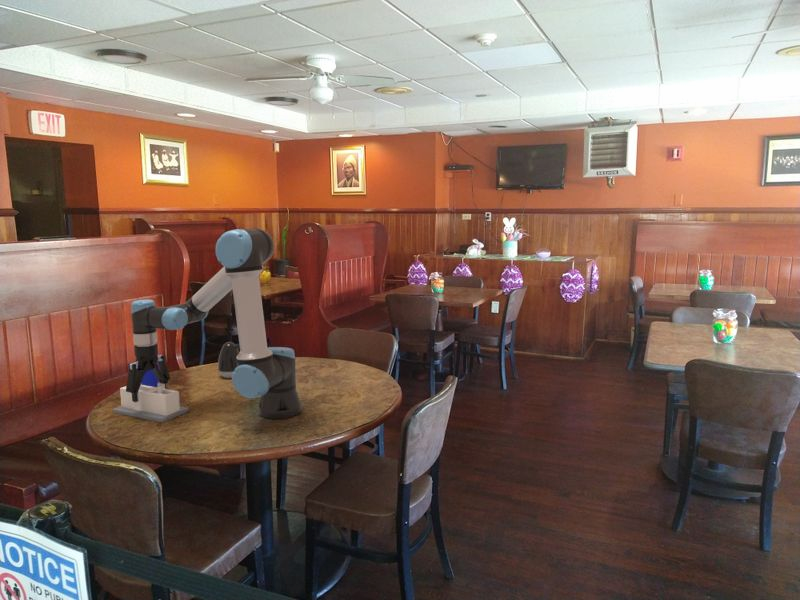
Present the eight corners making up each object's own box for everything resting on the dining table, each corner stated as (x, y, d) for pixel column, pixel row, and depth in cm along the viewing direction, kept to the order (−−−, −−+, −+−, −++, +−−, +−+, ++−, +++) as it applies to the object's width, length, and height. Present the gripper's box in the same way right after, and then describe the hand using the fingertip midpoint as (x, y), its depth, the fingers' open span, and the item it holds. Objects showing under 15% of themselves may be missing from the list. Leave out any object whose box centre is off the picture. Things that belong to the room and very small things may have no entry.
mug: (160, 393, 223) (158, 369, 222) (133, 392, 226) (131, 367, 224) (173, 387, 231) (171, 363, 230) (146, 385, 234) (144, 362, 232)
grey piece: (189, 411, 204) (187, 384, 202) (162, 422, 193) (160, 394, 191) (140, 402, 214) (138, 376, 212) (112, 412, 203) (110, 385, 201)
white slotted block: (180, 410, 201) (178, 390, 200) (166, 415, 196) (165, 395, 195) (135, 401, 210) (133, 382, 209) (121, 406, 205) (119, 387, 204)
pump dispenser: (239, 380, 241) (237, 344, 239) (215, 380, 241) (213, 344, 239) (246, 373, 251) (244, 339, 249) (222, 373, 251) (220, 339, 249)
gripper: (163, 336, 211) (167, 394, 214) (110, 350, 191) (115, 414, 194) (178, 338, 208) (182, 397, 211) (125, 352, 188) (131, 417, 191)
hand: (150, 405), depth 203 cm, fingers open, 10 cm apart
